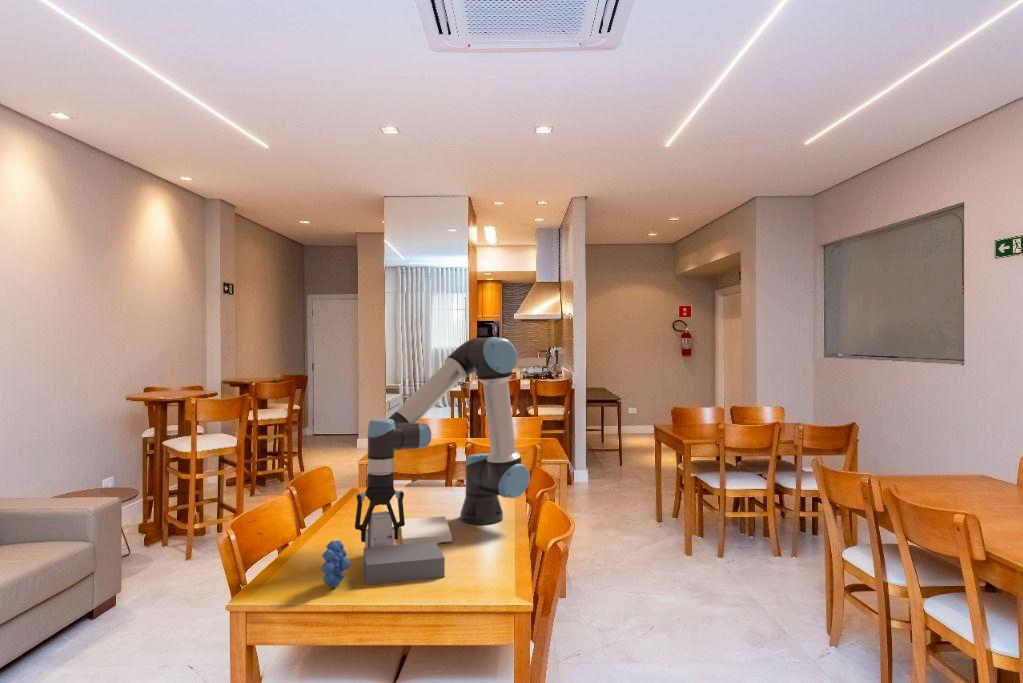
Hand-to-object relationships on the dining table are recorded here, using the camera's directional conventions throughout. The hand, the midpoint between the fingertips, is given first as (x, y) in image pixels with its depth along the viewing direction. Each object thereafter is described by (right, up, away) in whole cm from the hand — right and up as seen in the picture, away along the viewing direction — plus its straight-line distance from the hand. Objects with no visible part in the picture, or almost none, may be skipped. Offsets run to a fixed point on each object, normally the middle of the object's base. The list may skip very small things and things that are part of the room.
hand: (379, 551), depth 176 cm
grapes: (-5, -1, -24) cm, 25 cm away
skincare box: (0, -1, 0) cm, 1 cm away
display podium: (+9, -1, -13) cm, 16 cm away
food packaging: (+10, -2, +20) cm, 22 cm away
